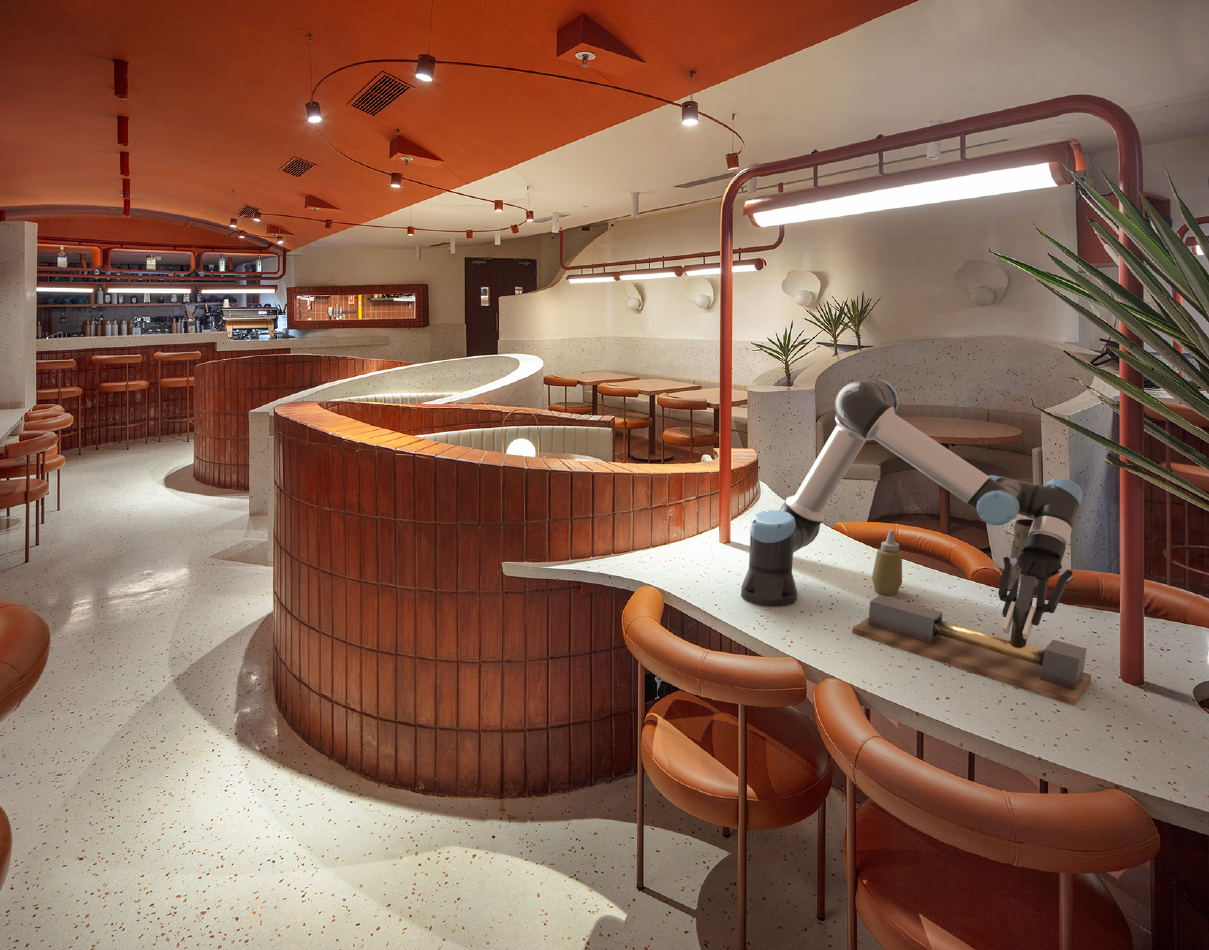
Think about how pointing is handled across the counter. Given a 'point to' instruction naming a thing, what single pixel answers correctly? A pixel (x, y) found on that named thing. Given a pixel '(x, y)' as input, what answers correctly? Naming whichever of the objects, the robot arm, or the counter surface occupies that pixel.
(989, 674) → the base board
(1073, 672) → the socket
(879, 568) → the squeeze bottle
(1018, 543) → the beer stein
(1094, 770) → the counter surface
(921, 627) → the outer sleeve
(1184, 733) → the counter surface
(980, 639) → the sliding bolt
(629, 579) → the counter surface
